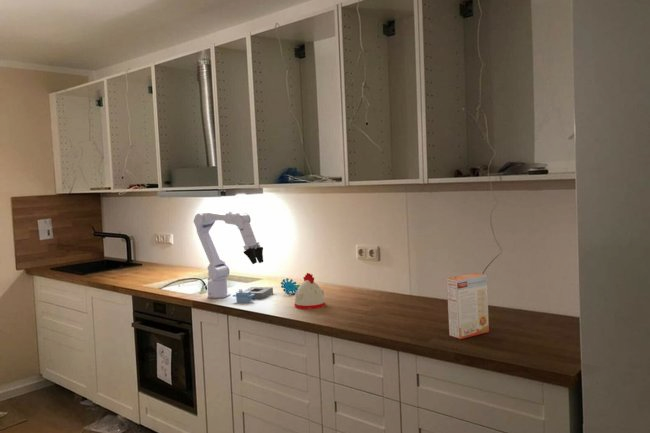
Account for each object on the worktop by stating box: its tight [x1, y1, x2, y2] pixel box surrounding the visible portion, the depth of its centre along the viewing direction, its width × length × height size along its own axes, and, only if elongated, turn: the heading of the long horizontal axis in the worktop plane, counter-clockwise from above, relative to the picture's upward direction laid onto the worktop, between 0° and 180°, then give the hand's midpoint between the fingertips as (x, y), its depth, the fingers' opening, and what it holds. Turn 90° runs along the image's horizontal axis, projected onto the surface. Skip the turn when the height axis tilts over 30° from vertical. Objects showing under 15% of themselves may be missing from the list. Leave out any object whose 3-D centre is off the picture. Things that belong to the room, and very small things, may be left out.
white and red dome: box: [294, 272, 326, 310], centre depth 238 cm, size 14×14×15 cm
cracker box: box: [446, 272, 490, 340], centre depth 183 cm, size 14×6×21 cm, turn 118°
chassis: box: [243, 286, 274, 300], centre depth 264 cm, size 12×14×3 cm
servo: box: [232, 289, 255, 304], centre depth 252 cm, size 4×10×6 cm, turn 74°
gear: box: [280, 277, 301, 296], centre depth 267 cm, size 11×6×10 cm
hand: (258, 262), depth 252 cm, fingers open, 7 cm apart
